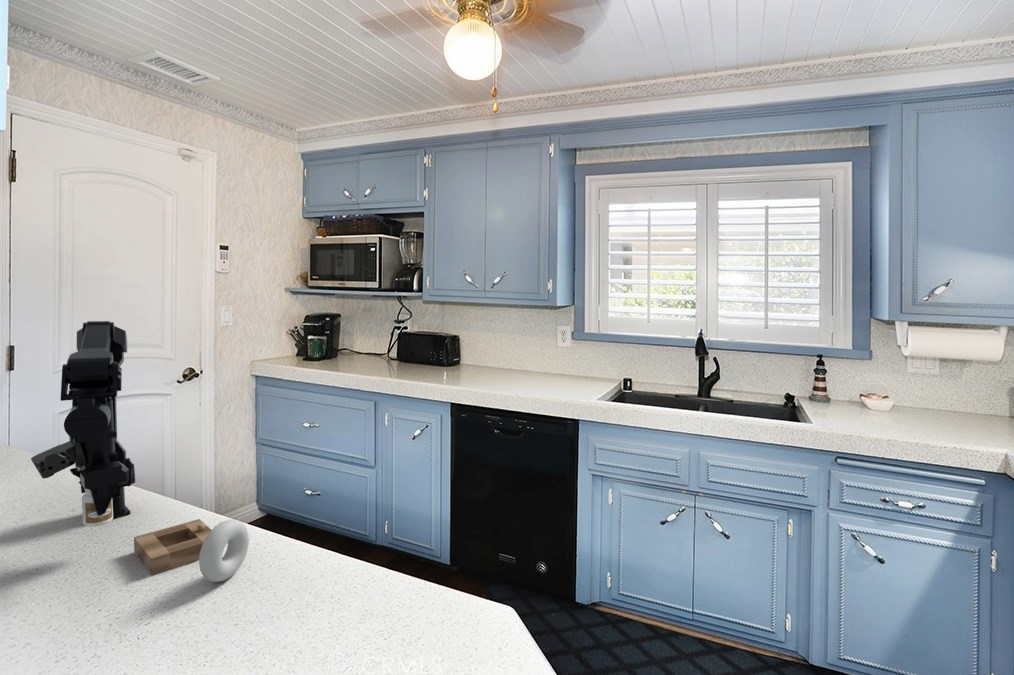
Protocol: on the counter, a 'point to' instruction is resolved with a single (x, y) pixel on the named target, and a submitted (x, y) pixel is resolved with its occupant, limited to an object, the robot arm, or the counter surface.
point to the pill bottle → (94, 512)
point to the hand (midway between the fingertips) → (98, 510)
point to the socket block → (171, 546)
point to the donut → (214, 545)
